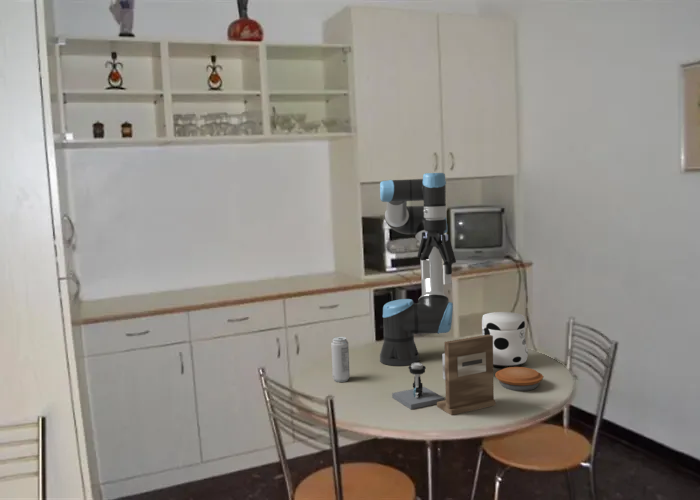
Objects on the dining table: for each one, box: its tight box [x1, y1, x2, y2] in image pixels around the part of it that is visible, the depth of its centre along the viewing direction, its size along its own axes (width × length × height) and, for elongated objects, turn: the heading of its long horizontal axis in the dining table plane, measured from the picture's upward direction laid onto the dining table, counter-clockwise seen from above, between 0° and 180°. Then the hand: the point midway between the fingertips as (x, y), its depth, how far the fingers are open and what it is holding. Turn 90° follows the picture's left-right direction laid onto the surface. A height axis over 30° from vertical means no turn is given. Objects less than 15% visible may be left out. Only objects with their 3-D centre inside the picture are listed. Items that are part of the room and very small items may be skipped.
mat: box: [391, 386, 445, 410], centre depth 199 cm, size 12×12×2 cm
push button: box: [408, 362, 427, 398], centre depth 198 cm, size 7×5×10 cm
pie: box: [494, 366, 544, 392], centre depth 209 cm, size 15×16×5 cm
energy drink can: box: [330, 336, 351, 383], centre depth 221 cm, size 6×6×15 cm
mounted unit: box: [436, 335, 497, 416], centre depth 192 cm, size 10×16×22 cm, turn 114°
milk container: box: [481, 311, 529, 368], centre depth 233 cm, size 17×17×18 cm
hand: (436, 281), depth 213 cm, fingers open, 13 cm apart
